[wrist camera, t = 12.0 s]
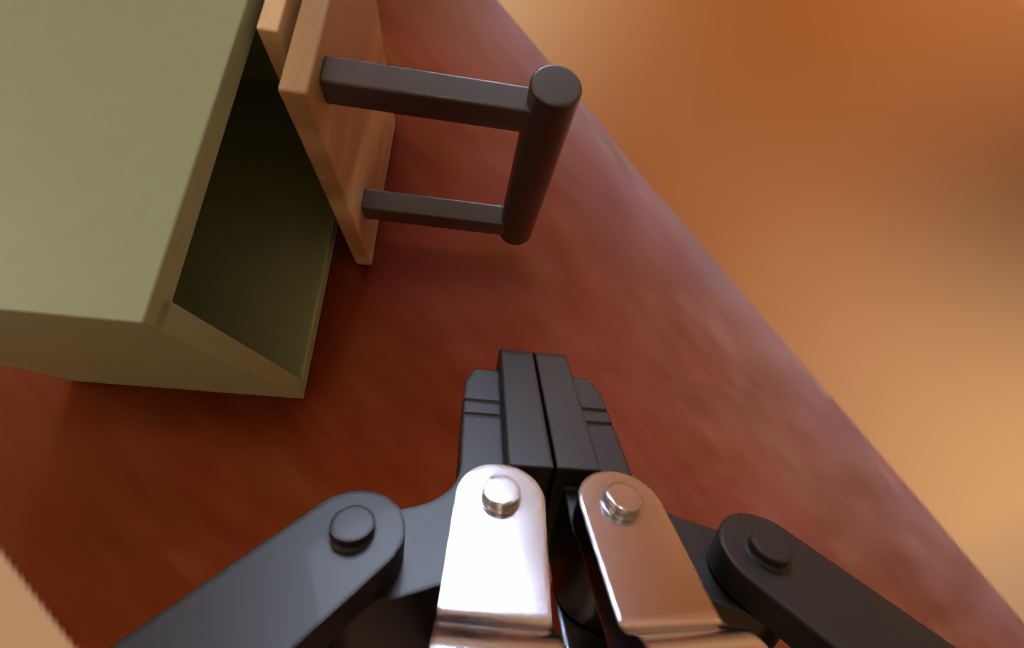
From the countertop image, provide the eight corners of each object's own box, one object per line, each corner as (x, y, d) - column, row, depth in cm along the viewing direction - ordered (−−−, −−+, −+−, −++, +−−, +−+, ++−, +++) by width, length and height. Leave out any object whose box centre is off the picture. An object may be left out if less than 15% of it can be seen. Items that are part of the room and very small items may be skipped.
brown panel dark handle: (355, 264, 23) (273, 83, 12) (381, 121, 26) (333, -132, 15) (520, 282, 24) (582, 129, 13) (529, 142, 27) (585, -81, 16)
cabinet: (71, 380, 20) (-406, 273, 9) (184, 66, 26) (-23, -247, 14) (323, 400, 22) (185, 327, 10) (380, 96, 27) (332, -172, 16)
